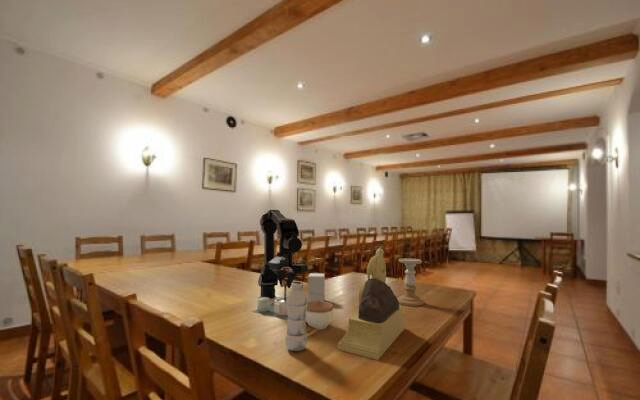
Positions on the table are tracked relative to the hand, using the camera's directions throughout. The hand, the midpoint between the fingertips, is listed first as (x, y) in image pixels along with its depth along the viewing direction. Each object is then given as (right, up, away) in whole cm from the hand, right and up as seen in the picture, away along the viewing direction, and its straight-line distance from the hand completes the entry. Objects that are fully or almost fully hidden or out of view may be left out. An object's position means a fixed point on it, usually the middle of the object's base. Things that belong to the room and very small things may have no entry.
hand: (285, 287), depth 126 cm
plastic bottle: (+7, -9, -34) cm, 36 cm away
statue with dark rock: (+32, -10, -24) cm, 42 cm away
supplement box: (+13, -12, +17) cm, 25 cm away
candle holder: (+57, -13, +18) cm, 61 cm away
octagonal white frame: (0, -10, -1) cm, 10 cm away
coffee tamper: (0, -6, 0) cm, 6 cm away
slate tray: (0, -11, +1) cm, 11 cm away
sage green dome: (-9, -10, +1) cm, 14 cm away
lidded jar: (+14, -10, -14) cm, 22 cm away
